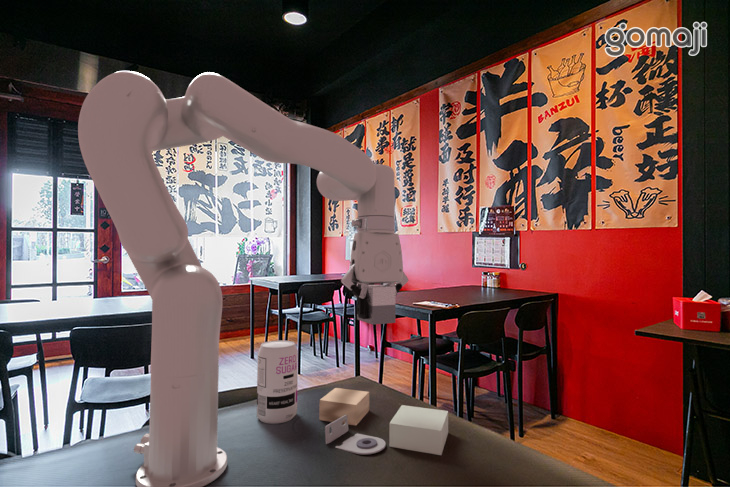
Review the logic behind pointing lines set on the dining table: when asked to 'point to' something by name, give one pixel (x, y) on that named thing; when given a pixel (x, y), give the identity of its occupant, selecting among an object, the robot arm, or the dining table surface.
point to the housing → (380, 304)
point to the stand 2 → (419, 429)
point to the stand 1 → (344, 405)
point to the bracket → (353, 439)
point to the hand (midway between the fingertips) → (375, 316)
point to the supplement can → (277, 381)
